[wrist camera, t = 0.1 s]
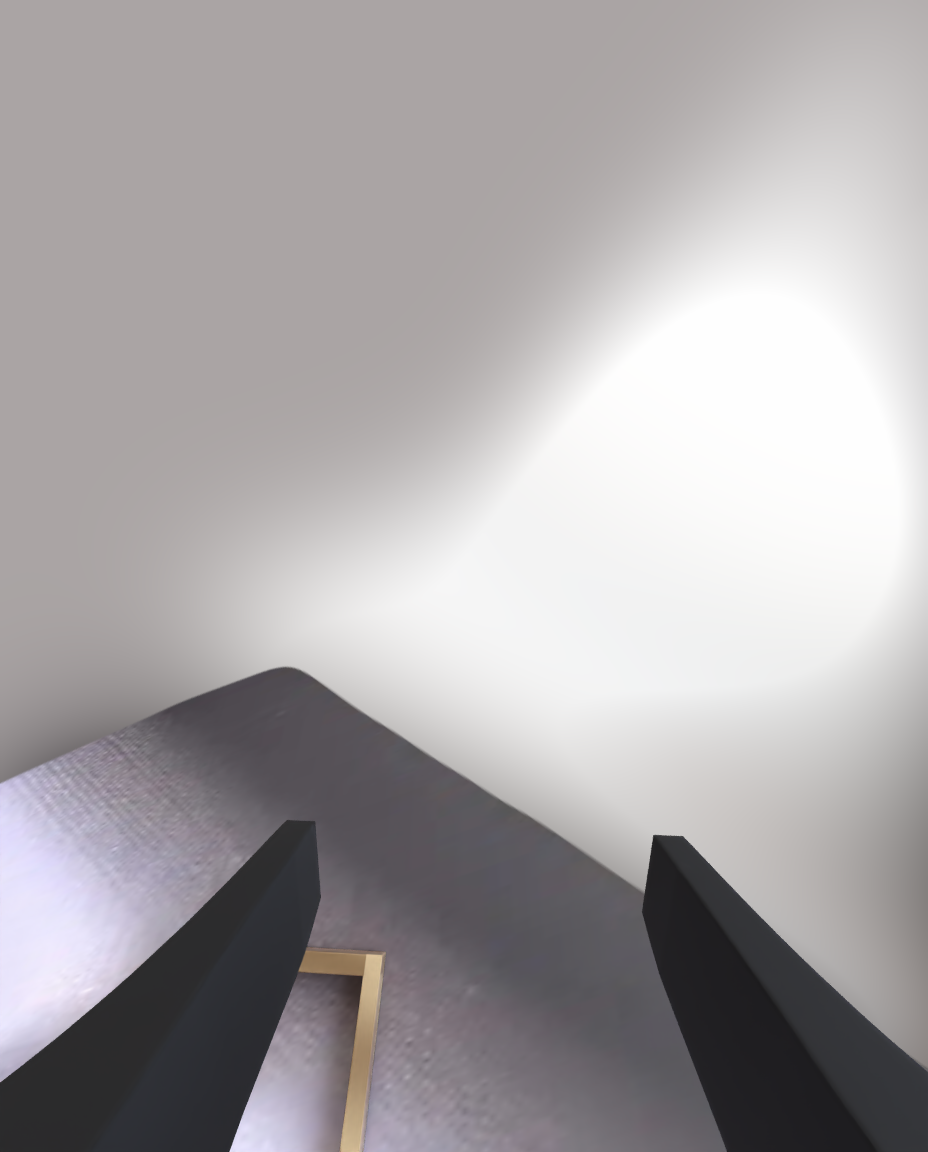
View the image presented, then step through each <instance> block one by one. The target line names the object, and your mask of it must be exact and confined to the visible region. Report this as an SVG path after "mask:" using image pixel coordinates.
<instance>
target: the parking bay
mask: <svg viewBox="0 0 928 1152" xmlns="http://www.w3.org/2000/svg"><path fill="white" fill-rule="evenodd" d="M385 956H386V952H379V951H361V950H345V949H329V948H313V947H307V948H306V951H305V954H304V958H303V960H302V963H301V966H300V968H299V971H298V972H304V973H319V974H335V975H350V976H363V980H362V988H361V995H360V1003H359V1010H358V1018H357V1025H356V1033H355V1040H354V1048H353V1055H352V1063H351V1070H350V1078H349V1085H348V1093H347V1100H346V1108H345V1115H344V1122H343V1130H342V1137H341V1145H340V1152H363V1150H364V1141H365V1132H366V1123H367V1114H368V1106H369V1097H370V1088H371V1079H372V1070H373V1062H374V1053H375V1044H376V1035H377V1027H378V1018H379V1009H380V1000H381V991H382V983H383V974H384V965H385Z"/></svg>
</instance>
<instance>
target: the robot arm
mask: <svg viewBox="0 0 928 1152" xmlns="http://www.w3.org/2000/svg"><path fill="white" fill-rule="evenodd" d="M320 898H321V894H320V881H319V867H318V854H317V840H316V827H315V821H293V820H287V821H286V822H285V823H284V824H282V825H281V827H280V828H279V829H278V830H277V831H276V832H275V833H274V834H273V835H272V836H271V837H270V838H269V839H268V840H267V841H266V842H265V843H264V844H263V845H262V846H261V848H260V849H259V850H258V851H257V852H256V853H255V854H254V855H253V856H252V857H251V858H250V859H249V860H248V861H247V862H246V863H245V864H244V865H243V866H242V867H241V868H240V869H239V871H238V872H237V873H236V874H235V875H234V876H233V877H232V878H231V879H230V880H229V881H228V882H227V883H226V884H225V885H224V886H223V887H222V888H221V889H220V890H219V891H218V892H217V893H216V894H215V895H214V896H213V897H212V898H211V899H210V900H209V901H208V902H207V903H206V904H205V905H204V906H203V907H202V908H201V909H200V910H199V911H198V912H197V913H196V914H195V915H194V916H193V917H192V918H191V919H190V920H189V921H188V922H187V923H186V924H185V925H184V926H183V927H181V928H180V929H179V930H178V931H177V932H176V933H175V934H174V935H173V936H172V937H171V938H170V939H169V940H168V941H166V942H165V943H164V944H163V945H162V946H161V947H160V948H159V949H158V950H157V951H156V952H155V953H154V954H153V955H152V956H150V957H149V958H148V959H147V960H146V961H145V962H144V963H143V964H142V965H141V966H140V967H139V968H138V969H136V970H135V971H134V972H133V973H132V974H131V975H130V976H129V977H128V978H126V979H125V980H124V981H123V982H122V983H121V984H120V985H118V986H117V987H116V988H115V989H114V990H113V991H112V992H111V993H109V994H108V995H107V996H106V997H105V998H104V999H102V1000H101V1001H100V1002H99V1003H98V1004H97V1005H95V1006H94V1007H93V1008H92V1009H91V1010H90V1011H88V1012H87V1013H86V1014H85V1015H84V1016H82V1017H81V1018H80V1019H79V1020H78V1021H77V1022H75V1023H74V1024H73V1025H72V1026H71V1027H69V1028H68V1029H67V1030H66V1031H65V1032H63V1033H62V1034H61V1035H60V1036H59V1037H57V1038H56V1039H55V1040H54V1041H52V1042H51V1043H50V1044H49V1045H47V1046H46V1047H45V1048H44V1049H42V1050H41V1051H40V1052H39V1053H37V1054H36V1055H35V1056H34V1057H32V1058H31V1059H30V1060H29V1061H27V1062H26V1063H25V1064H24V1065H22V1066H21V1067H20V1068H18V1069H17V1070H16V1071H15V1072H13V1073H12V1074H11V1075H9V1076H8V1077H7V1078H6V1079H4V1080H3V1081H2V1082H0V1152H229V1151H230V1148H231V1146H232V1143H233V1140H234V1137H235V1135H236V1132H237V1129H238V1126H239V1123H240V1121H241V1118H242V1115H243V1112H244V1110H245V1107H246V1105H247V1102H248V1099H249V1097H250V1094H251V1092H252V1089H253V1087H254V1084H255V1082H256V1079H257V1076H258V1074H259V1071H260V1069H261V1066H262V1064H263V1061H264V1058H265V1056H266V1053H267V1051H268V1048H269V1046H270V1043H271V1041H272V1038H273V1035H274V1033H275V1030H276V1028H277V1025H278V1023H279V1020H280V1017H281V1015H282V1012H283V1010H284V1007H285V1005H286V1002H287V999H288V997H289V994H290V992H291V989H292V986H293V984H294V981H295V979H296V976H297V973H298V971H299V968H300V966H301V963H302V960H303V958H304V954H305V951H306V948H307V944H308V941H309V938H310V934H311V931H312V927H313V924H314V920H315V916H316V913H317V909H318V906H319V902H320ZM642 913H643V917H644V921H645V925H646V928H647V932H648V936H649V939H650V943H651V947H652V950H653V954H654V957H655V960H656V964H657V967H658V971H659V974H660V977H661V979H662V982H663V985H664V988H665V990H666V993H667V996H668V998H669V1001H670V1003H671V1006H672V1009H673V1011H674V1014H675V1017H676V1019H677V1022H678V1025H679V1027H680V1030H681V1032H682V1035H683V1038H684V1040H685V1043H686V1045H687V1048H688V1051H689V1053H690V1056H691V1058H692V1061H693V1064H694V1066H695V1069H696V1071H697V1074H698V1077H699V1079H700V1082H701V1084H702V1087H703V1089H704V1092H705V1095H706V1097H707V1100H708V1102H709V1105H710V1108H711V1110H712V1113H713V1115H714V1118H715V1121H716V1123H717V1126H718V1128H719V1131H720V1134H721V1136H722V1139H723V1142H724V1144H725V1147H726V1150H727V1152H928V1072H927V1071H926V1070H925V1069H924V1068H922V1067H921V1066H920V1065H919V1064H918V1063H917V1062H915V1061H914V1060H913V1059H912V1058H911V1057H910V1056H909V1055H907V1054H906V1053H905V1052H904V1051H903V1050H902V1049H900V1048H899V1047H898V1046H897V1045H896V1044H895V1043H893V1042H892V1041H891V1040H890V1039H889V1038H887V1037H886V1036H885V1035H884V1034H883V1033H882V1032H881V1031H880V1030H878V1029H877V1028H876V1027H875V1026H874V1025H873V1024H872V1023H871V1022H870V1021H868V1020H867V1019H866V1018H865V1017H864V1016H863V1015H862V1014H861V1013H860V1012H858V1010H856V1009H855V1008H854V1007H853V1006H852V1005H851V1004H850V1003H849V1002H848V1001H847V1000H846V999H845V998H843V996H841V995H840V994H839V993H838V992H837V991H836V990H835V989H834V988H833V987H832V986H831V985H830V984H829V983H827V982H826V981H825V980H824V979H823V978H822V977H821V976H820V975H819V974H818V973H817V972H816V971H815V970H814V969H813V968H811V966H809V965H808V964H807V963H806V962H805V961H804V960H803V959H802V958H801V957H800V956H799V955H798V954H797V953H796V952H795V951H794V950H793V949H792V948H791V947H790V946H789V945H788V944H787V943H786V942H785V941H784V940H783V939H782V938H781V937H780V936H779V935H778V934H777V933H776V932H775V931H774V930H773V929H772V928H771V927H770V926H769V925H768V924H767V923H766V922H765V921H764V920H763V919H762V918H761V917H760V916H759V915H758V914H757V913H756V912H755V911H754V910H753V909H752V908H751V907H750V906H749V905H748V904H747V903H746V902H745V901H744V900H743V899H742V898H741V897H740V895H739V894H738V893H737V892H736V891H735V890H734V889H733V888H732V887H731V886H730V885H729V884H728V883H727V882H726V881H725V880H724V879H723V878H722V877H721V876H720V875H719V874H718V873H717V872H716V871H715V869H714V868H713V867H712V866H711V865H710V864H709V863H708V862H707V861H706V860H705V859H704V858H703V857H702V856H701V855H700V854H699V852H698V851H697V850H696V849H695V848H694V847H693V846H692V845H691V844H690V843H689V842H688V841H687V840H686V839H685V838H684V837H683V836H662V835H653V842H652V848H651V855H650V862H649V869H648V875H647V882H646V889H645V896H644V902H643V909H642Z"/></svg>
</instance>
